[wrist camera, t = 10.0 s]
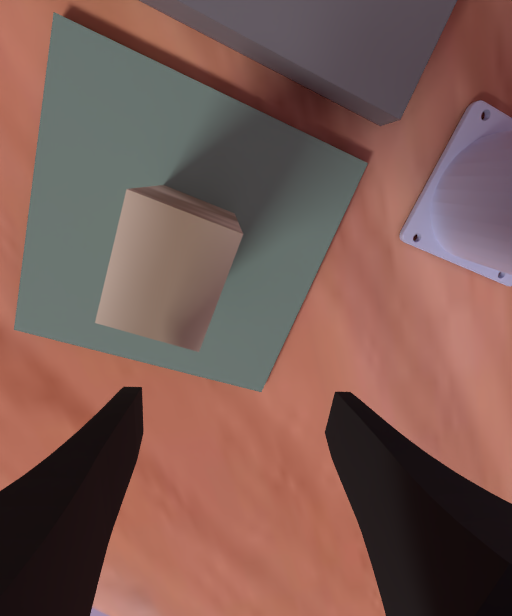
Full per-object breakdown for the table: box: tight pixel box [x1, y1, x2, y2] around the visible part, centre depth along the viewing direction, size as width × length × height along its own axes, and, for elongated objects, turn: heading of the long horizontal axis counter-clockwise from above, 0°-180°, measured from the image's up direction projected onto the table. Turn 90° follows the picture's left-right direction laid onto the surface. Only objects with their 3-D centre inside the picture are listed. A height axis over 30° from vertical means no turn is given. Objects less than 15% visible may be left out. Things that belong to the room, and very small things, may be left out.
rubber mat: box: [14, 12, 368, 392], centre depth 18 cm, size 16×16×1 cm
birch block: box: [95, 185, 243, 352], centre depth 14 cm, size 4×5×7 cm
